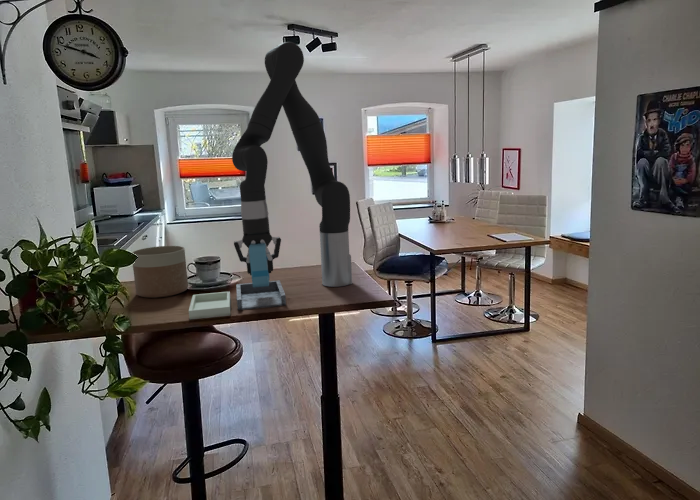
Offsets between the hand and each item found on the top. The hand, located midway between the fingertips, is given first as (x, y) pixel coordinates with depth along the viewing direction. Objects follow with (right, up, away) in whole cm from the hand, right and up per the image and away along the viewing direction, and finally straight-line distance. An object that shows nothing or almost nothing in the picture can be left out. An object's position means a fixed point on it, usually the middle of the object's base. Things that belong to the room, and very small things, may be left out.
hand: (260, 273), depth 154 cm
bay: (0, -8, +2) cm, 8 cm away
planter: (-34, -7, +15) cm, 38 cm away
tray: (-13, -10, -6) cm, 17 cm away
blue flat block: (0, -3, +1) cm, 3 cm away
